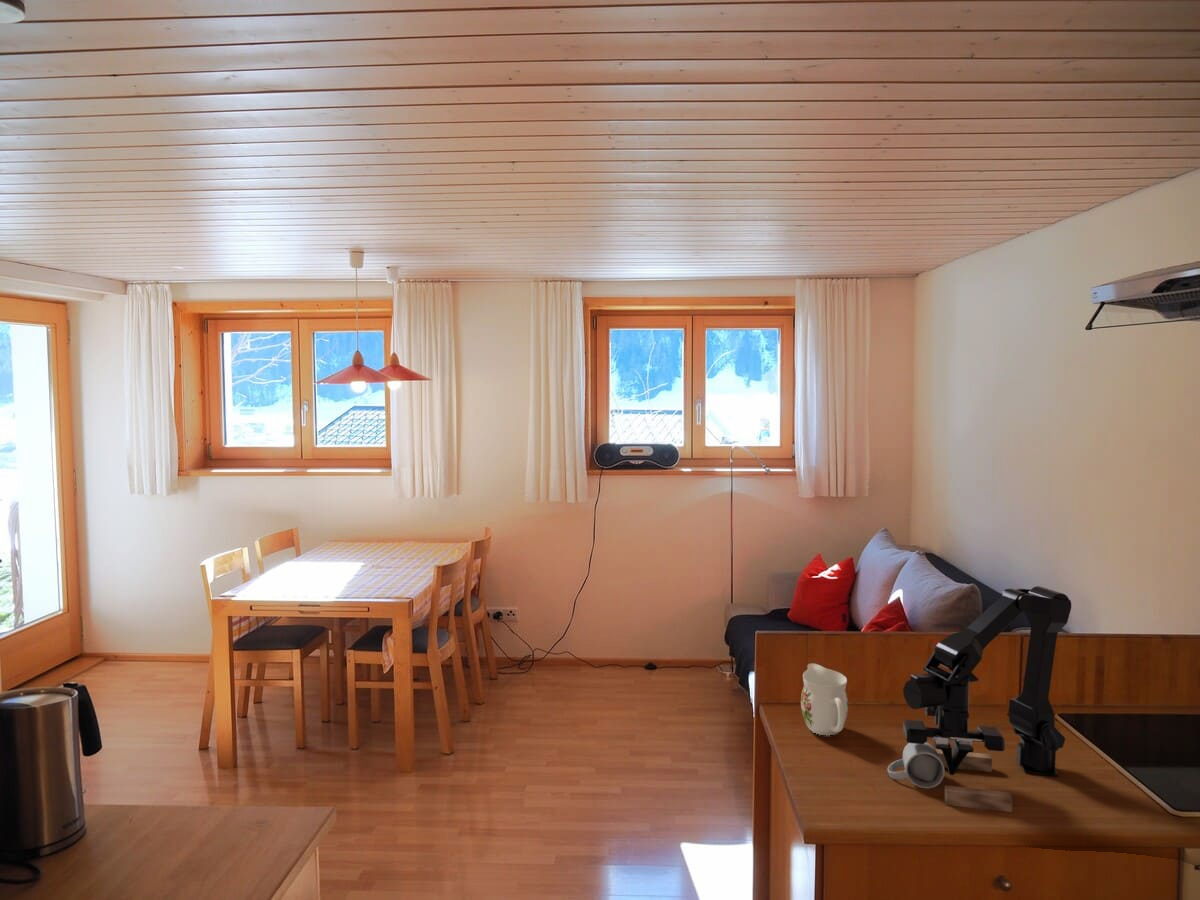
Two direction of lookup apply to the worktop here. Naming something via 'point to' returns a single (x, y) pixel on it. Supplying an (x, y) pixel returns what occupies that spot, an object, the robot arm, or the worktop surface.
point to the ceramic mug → (919, 766)
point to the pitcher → (824, 700)
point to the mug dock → (976, 796)
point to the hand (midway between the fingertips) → (951, 774)
